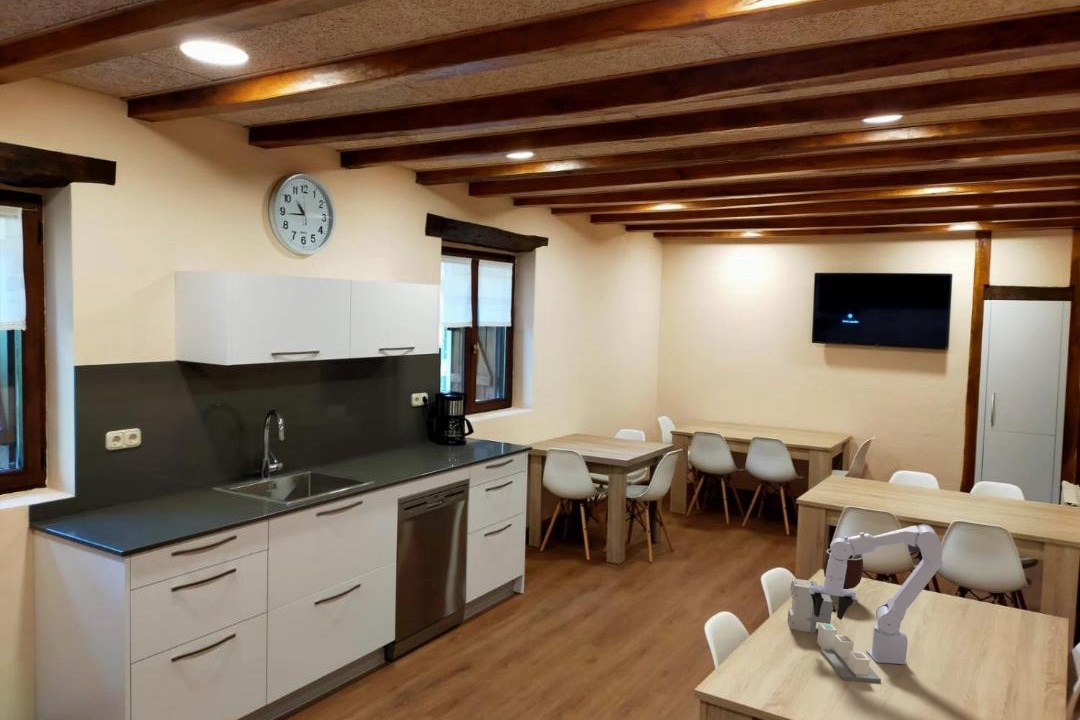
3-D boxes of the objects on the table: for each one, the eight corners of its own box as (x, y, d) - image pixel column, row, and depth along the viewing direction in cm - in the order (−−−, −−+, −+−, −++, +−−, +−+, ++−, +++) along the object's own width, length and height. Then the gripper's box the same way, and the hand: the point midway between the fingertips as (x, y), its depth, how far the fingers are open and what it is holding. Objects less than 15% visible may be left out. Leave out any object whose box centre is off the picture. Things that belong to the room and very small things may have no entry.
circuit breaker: (834, 635, 258) (839, 591, 257) (789, 629, 261) (794, 585, 260) (830, 626, 265) (835, 584, 264) (787, 620, 268) (791, 578, 267)
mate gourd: (824, 602, 289) (829, 549, 287) (817, 589, 302) (822, 538, 301) (868, 607, 286) (873, 554, 285) (859, 594, 300) (864, 543, 298)
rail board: (855, 654, 244) (857, 635, 244) (880, 682, 226) (882, 661, 226) (820, 652, 244) (822, 632, 244) (843, 679, 226) (845, 658, 226)
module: (829, 643, 251) (831, 623, 251) (834, 649, 247) (836, 629, 246) (817, 642, 251) (819, 622, 251) (822, 648, 247) (824, 628, 246)
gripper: (851, 573, 251) (843, 614, 253) (808, 568, 250) (801, 609, 252) (861, 582, 244) (854, 623, 246) (817, 577, 243) (809, 618, 245)
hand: (827, 616), depth 248 cm, fingers open, 7 cm apart
